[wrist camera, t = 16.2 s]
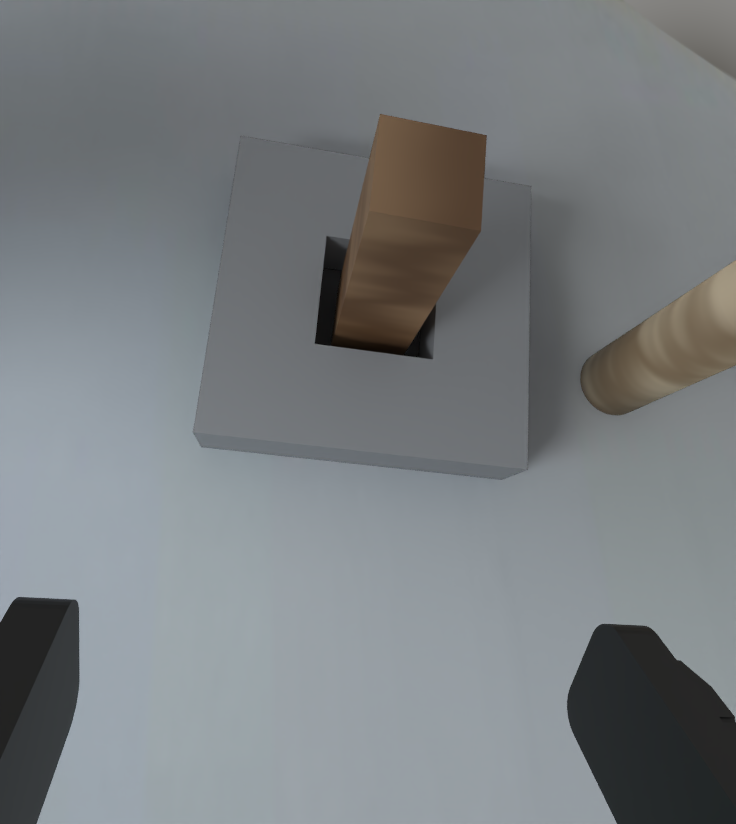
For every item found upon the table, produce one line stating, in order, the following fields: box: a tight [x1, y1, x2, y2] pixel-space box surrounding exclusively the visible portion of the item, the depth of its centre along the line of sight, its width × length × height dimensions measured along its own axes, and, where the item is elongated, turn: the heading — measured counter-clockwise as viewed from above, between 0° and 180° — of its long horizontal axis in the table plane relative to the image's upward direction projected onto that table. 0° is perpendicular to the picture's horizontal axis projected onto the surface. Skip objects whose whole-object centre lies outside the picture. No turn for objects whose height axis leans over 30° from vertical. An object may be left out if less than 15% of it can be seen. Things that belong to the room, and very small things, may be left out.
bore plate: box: [193, 136, 531, 480], centre depth 29 cm, size 14×14×3 cm
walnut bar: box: [331, 114, 487, 355], centre depth 24 cm, size 3×3×12 cm
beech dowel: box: [581, 261, 736, 415], centre depth 27 cm, size 3×3×10 cm
